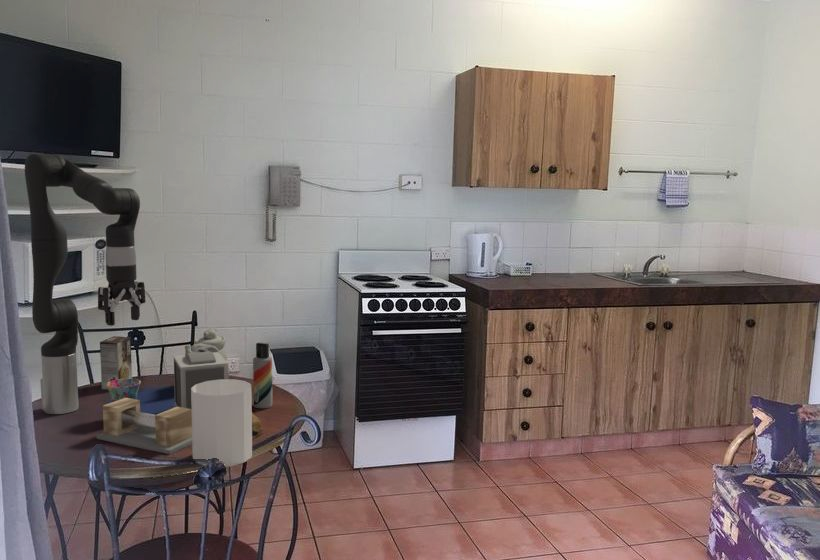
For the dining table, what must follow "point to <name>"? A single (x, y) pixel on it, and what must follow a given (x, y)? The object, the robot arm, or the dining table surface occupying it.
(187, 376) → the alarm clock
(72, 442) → the dining table surface
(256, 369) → the lotion bottle
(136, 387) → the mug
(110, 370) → the coffee box
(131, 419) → the tube
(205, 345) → the grey lumpy piece
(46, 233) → the robot arm
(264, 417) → the dining table surface
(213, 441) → the container
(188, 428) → the socket block
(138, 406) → the guide block
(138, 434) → the base mat
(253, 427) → the bread roll
